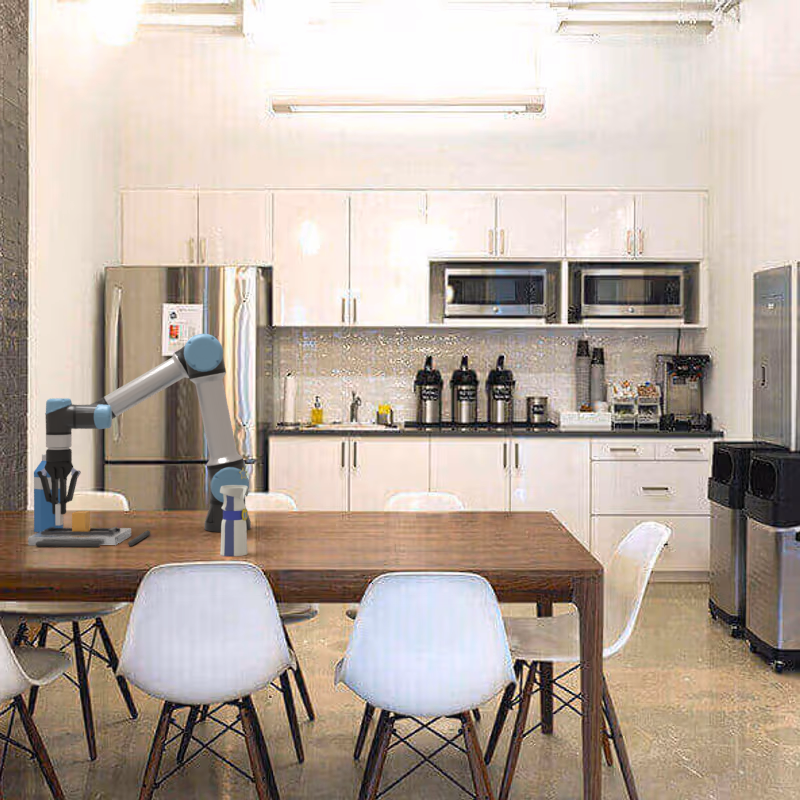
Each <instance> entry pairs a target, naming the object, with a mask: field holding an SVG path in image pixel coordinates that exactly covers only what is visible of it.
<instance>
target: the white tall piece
mask: <svg viewBox="0 0 800 800" xmlns="http://www.w3.org/2000/svg"><path fill="white" fill-rule="evenodd" d="M239 473H240V474H241V479H242V478H246V475H247V473H248V470H246V471H244V468H243V469H242V471H241V472H239ZM220 493H222V494H223V497H224V503H223V506H222V507H221V508H222V509H223V520H222V523H221V532H220V553H219V555H220V556H223V557H241V556H246V555H248V539H247V536H248V535H247V527H246V519H247V516H248V515H249V512H248V509H247V506H246V503H245V504H244V496H245V498H248V496H249V488H248V487H247V486H245V485H226V486H221V488H220Z"/></svg>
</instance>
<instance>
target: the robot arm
mask: <svg viewBox="0 0 800 800" xmlns="http://www.w3.org/2000/svg"><path fill="white" fill-rule="evenodd" d="M222 345H223V344H221V342H220V341H219V339H217V338H216V337H215V336H214V335H213V334H210V333H198V334H195V335H193V336H191V337H190V338H188V340H187V341H186V343H185V345H183V346H182V347H181V348H179V349H178V350H176V351H174V352H173V354H172V356H171V358H169V359H167V360H165V361H163V362H162V363H160V364H159V365H157V366H155V367H153V368H151V369H149V370H148V371H146V372H144V373H143V374H141V375H139V376H137V377H135V378H134V379H132V380H131V381H129V382H127V383H125V384H124V385H122V386H120V387H119V388H117V389H114V391H112V392H109V394H107V395H105V396H103V397H101V398H99V399H98V400H96V401H94V402H92V403H91V404H73V403H72V399H71V398H69V397H68V398H67V397H66V398H65V397H64V398H63V397H62V398H60V397H59V398H57V397H56V398H53V397H52V398H49V399H47V400H46V402H45V413H44V414H45V447H46V448H47V449H46V450H45V454H46V465H45V468H44V469H42V470H41V471H38V472H37V474H38V476H39V477H40V479H41V483H42V487H43V491H44V495H45V499H46V501H47V502H50V503H52V513H53V514H55V525H58V526H60V525H63V526H64V515H66V514H67V503H69V502H72V501H73V499H74V494H75V491H76V487H77V486H76V485H77V481H78V478H79V476H80V475H81V474H82V473H81V470H77V469H76V468H74V464H73V462H72V460H73V459H72V455H73V452H72V448H71V447H72V443H73V442H72V439H73V437H72V431H73V430H79V429H80V430H102V429H103V430H105V429H110V428H111V427H112V423H113V419H115V418H116V417H118V416H120V415H122V414H123V413H125V412H127V411H129V410H131V409H132V408H134V407H136V406H137V405H139V404H141V403H143V402H144V401H146V400H148V399H150V398H151V397H153V396H154V395H156V394H158V393H159V392H161V391H164V390H165V389H167V388H168V387H171V386H172V385H173V384H175V383H177V382H178V381H181V380H183V379H184V378H185V379H189V381H190V382H192V383H193V384H194V385H195V388H196V394H197V398H198V403H199V409H200V414H201V418H202V424H203V429H204V433H205V440H206V444H207V448H208V449H207V450H208V453H209V459H208V461H207V463H206V469H207V473H208V478H209V479H208V480H209V508H208V511H207V513H206V516H205V517H206V518H205V520H204V530H205V531H208V532H217V533H221V523H222V520H223V509H222V508H221V507H222V506H223V503H224V497H223V494H222V493H220V488H221V486H226V485H245V486H247V487H248V489H249V488H250V481H249V477H248V475H247V474H246V478H242V479H241V474H240V473H239V472H241V471H242V469H243V468H244V471H247V467H246V463H245V461H244V457H243V455H240V454H239V452H238V450H237V445H236V441H235V436H234V432H233V431H234V430H233V425H232V419H231V415H230V410H229V406H228V400H227V395H226V391H225V386H224V380H223V379H224V377H225V376H226V374H227V370H226V366H225V360H224V350H223V346H222ZM47 473H48V474H49V475H50V477H51V482H52V495H51V491H50V487H49V483H48V479H47V476H46V475H47ZM69 475H71V478H70V482H69V486H67V481H68V477H69ZM58 481H60V502H59V501H58ZM67 487H68V490H67ZM58 502H59V503H58ZM244 504H245V505H246V495H245V496H244ZM251 523H252V522H251V519H250V516H249V514H248V516H247V519H246V527H247V530H250V529H251V528H252V527H251V526H252V525H251Z"/></svg>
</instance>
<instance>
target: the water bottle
mask: <svg viewBox="0 0 800 800" xmlns="http://www.w3.org/2000/svg"><path fill="white" fill-rule="evenodd" d="M45 465H46V453H43V454H41V461H40V462H39V464H38V465H37V466H36V468H35V470H34V471H33V519H34V520H33V531H34V533H39V532H41V531H43V530H45V529H47V528H49V527H54V528H64V524H63V525H60V526H58V525H55V514H53V513H52V503H50V502H47V501H46V499H45V495H44V491H43V487H42V483H41V479H40V477H39V476H38V474H37V472H38V471H41V470H42V469H44V468H45ZM46 476H47V479H48V483H49V487H50V491H51V495H52V482H51V477H50V475H49V474H48V473H47V475H46ZM58 501H59V502H60V481H58ZM59 502H58V503H59Z"/></svg>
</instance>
